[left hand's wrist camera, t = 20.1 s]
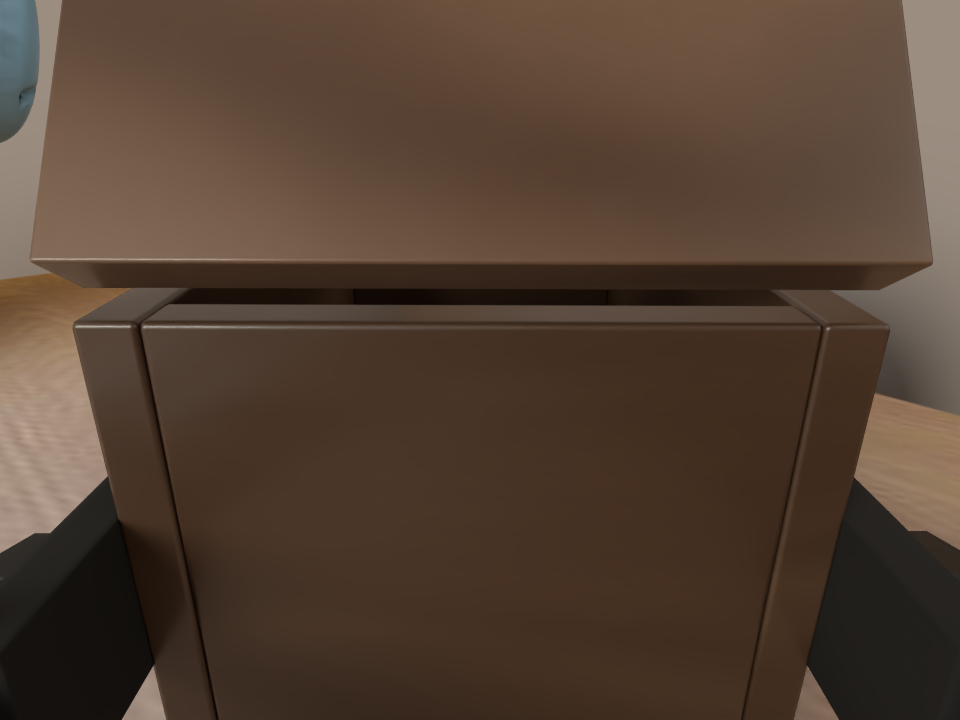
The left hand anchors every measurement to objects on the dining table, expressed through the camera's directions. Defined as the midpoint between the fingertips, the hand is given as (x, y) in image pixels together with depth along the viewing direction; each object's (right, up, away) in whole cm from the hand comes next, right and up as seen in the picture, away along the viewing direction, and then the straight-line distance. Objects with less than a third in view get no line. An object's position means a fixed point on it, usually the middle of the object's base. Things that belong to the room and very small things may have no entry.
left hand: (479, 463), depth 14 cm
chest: (0, -4, +5) cm, 7 cm away
